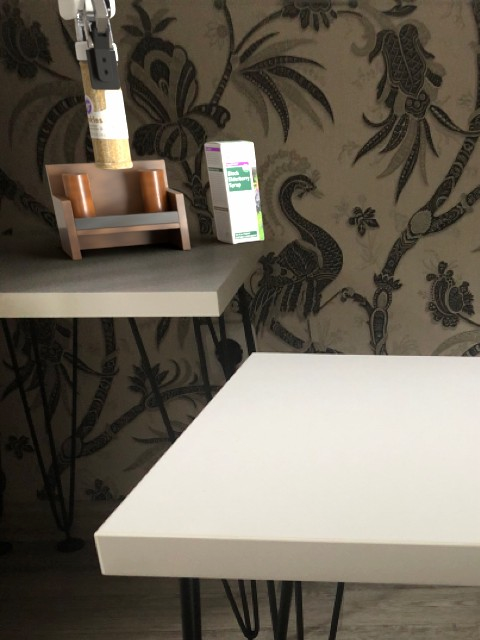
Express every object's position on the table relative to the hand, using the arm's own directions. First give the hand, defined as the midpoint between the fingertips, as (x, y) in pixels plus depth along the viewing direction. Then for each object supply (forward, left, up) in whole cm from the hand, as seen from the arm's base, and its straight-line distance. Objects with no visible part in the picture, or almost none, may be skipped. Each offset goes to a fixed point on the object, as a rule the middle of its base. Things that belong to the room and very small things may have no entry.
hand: (102, 87), depth 109 cm
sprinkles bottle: (0, 0, -9) cm, 9 cm away
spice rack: (+4, +26, -22) cm, 34 cm away
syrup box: (+22, +26, -22) cm, 41 cm away
